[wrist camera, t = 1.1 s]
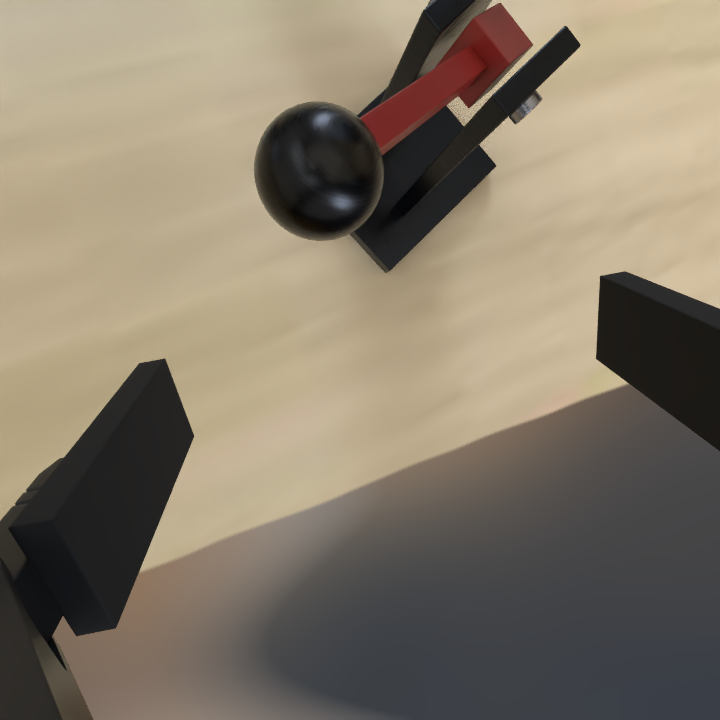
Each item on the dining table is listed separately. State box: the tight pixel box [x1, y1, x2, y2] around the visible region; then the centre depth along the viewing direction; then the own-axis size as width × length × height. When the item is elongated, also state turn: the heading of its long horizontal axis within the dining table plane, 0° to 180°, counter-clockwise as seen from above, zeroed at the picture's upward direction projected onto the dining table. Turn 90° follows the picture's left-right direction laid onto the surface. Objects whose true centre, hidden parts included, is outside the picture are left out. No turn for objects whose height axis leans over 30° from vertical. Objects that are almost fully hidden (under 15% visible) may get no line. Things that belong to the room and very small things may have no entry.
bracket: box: [350, 0, 580, 273], centre depth 26 cm, size 11×9×16 cm
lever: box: [254, 3, 533, 241], centre depth 17 cm, size 15×4×4 cm, turn 134°
